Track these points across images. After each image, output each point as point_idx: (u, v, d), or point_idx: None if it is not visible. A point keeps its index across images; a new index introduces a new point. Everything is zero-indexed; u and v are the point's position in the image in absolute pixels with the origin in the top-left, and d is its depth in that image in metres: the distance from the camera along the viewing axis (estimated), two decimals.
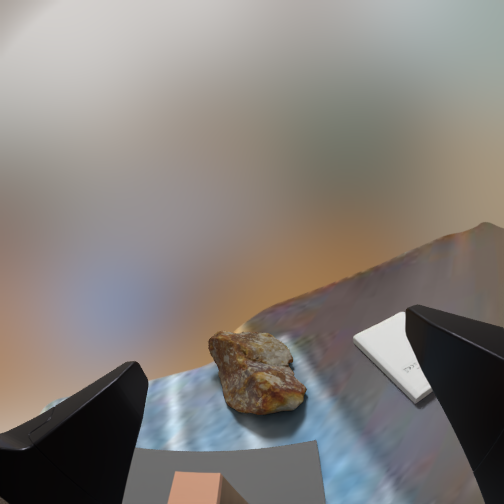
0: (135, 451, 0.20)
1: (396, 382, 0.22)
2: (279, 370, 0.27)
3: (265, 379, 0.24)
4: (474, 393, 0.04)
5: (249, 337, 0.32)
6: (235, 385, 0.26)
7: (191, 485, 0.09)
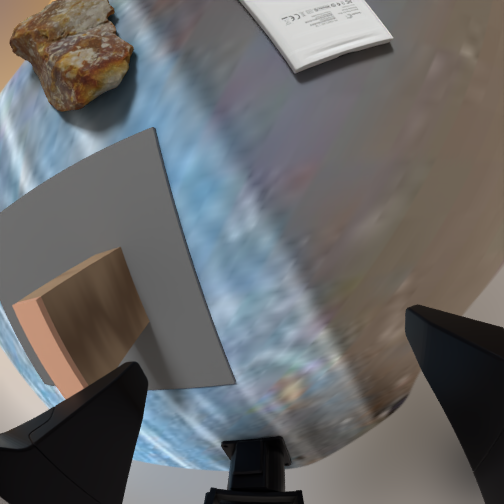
0: (5, 215, 0.18)
1: (269, 34, 0.13)
2: (93, 35, 0.12)
3: (70, 65, 0.11)
4: (474, 393, 0.04)
5: (52, 10, 0.10)
6: (46, 81, 0.13)
7: (28, 319, 0.10)
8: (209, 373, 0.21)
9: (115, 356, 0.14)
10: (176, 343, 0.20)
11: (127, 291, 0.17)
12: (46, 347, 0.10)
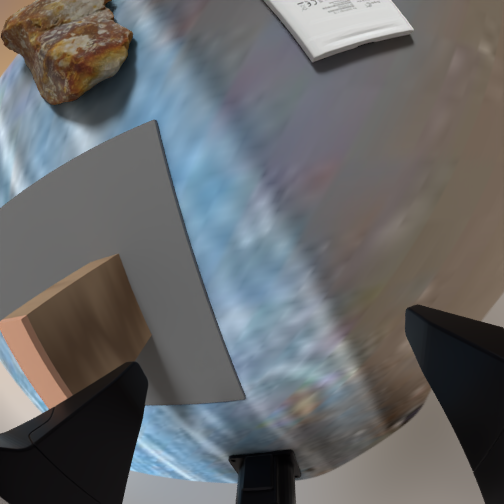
0: None
1: (283, 20, 0.12)
2: (89, 22, 0.10)
3: (63, 52, 0.10)
4: (474, 393, 0.04)
5: (45, 0, 0.08)
6: (38, 73, 0.11)
7: (15, 340, 0.08)
8: (217, 389, 0.19)
9: None
10: (182, 358, 0.18)
11: (126, 303, 0.16)
12: (36, 371, 0.08)
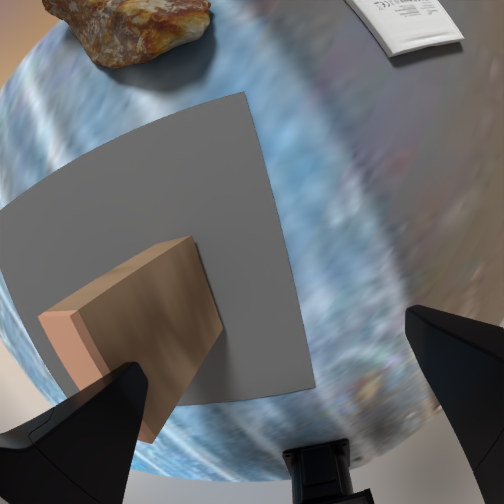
0: (25, 198, 0.15)
1: (362, 16, 0.11)
2: None
3: (140, 8, 0.09)
4: (474, 393, 0.04)
5: None
6: (95, 34, 0.11)
7: (60, 338, 0.07)
8: (289, 378, 0.18)
9: (181, 379, 0.11)
10: (256, 347, 0.17)
11: (199, 292, 0.15)
12: (87, 377, 0.08)
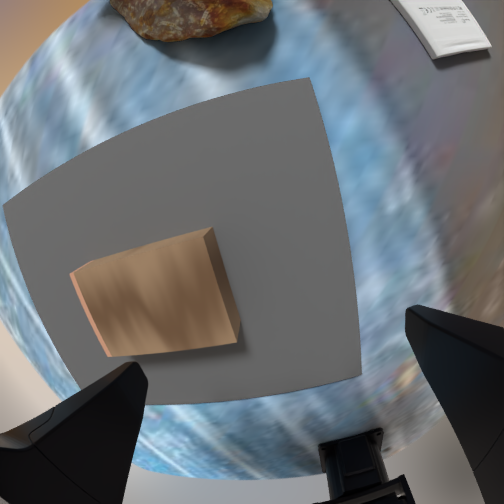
0: (52, 178, 0.15)
1: (409, 19, 0.11)
2: None
3: None
4: (474, 393, 0.04)
5: None
6: (148, 6, 0.10)
7: None
8: (338, 367, 0.18)
9: (147, 345, 0.15)
10: (310, 335, 0.17)
11: (198, 297, 0.14)
12: None
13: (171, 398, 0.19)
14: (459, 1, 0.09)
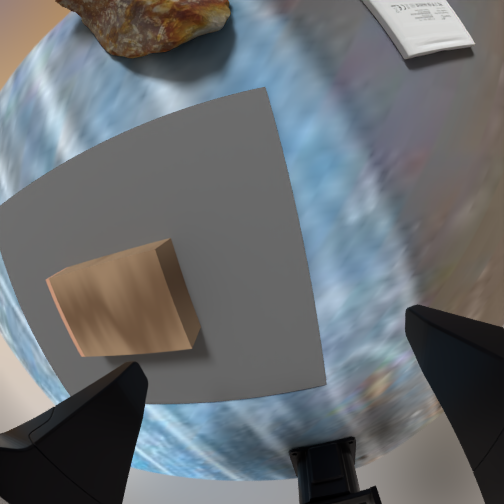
0: (32, 189, 0.15)
1: (380, 18, 0.11)
2: None
3: None
4: (474, 393, 0.04)
5: None
6: (112, 24, 0.10)
7: None
8: (301, 376, 0.18)
9: (113, 348, 0.15)
10: (270, 344, 0.17)
11: (154, 305, 0.14)
12: None
13: None
14: None
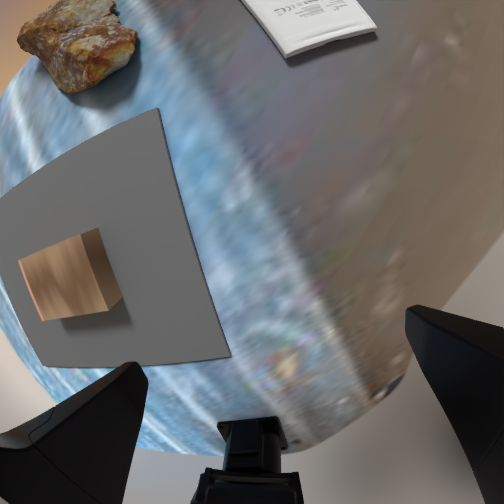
0: (12, 194, 0.19)
1: (262, 24, 0.15)
2: (99, 25, 0.13)
3: (81, 48, 0.12)
4: (474, 393, 0.04)
5: (57, 8, 0.11)
6: (56, 68, 0.14)
7: None
8: (205, 345, 0.22)
9: (61, 311, 0.19)
10: (174, 314, 0.21)
11: (82, 275, 0.18)
12: None
13: (92, 361, 0.23)
14: None
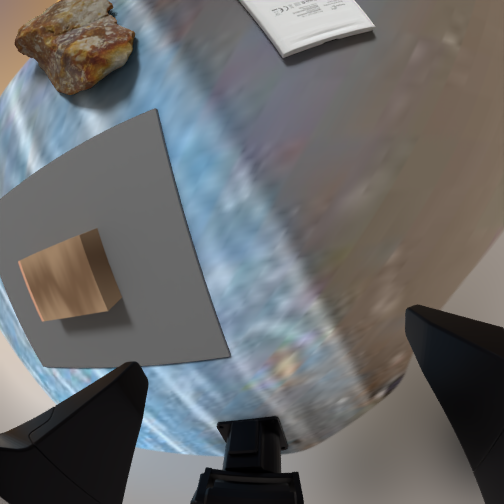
0: (11, 195, 0.19)
1: (260, 24, 0.15)
2: (96, 26, 0.13)
3: (79, 49, 0.12)
4: (474, 393, 0.04)
5: (54, 10, 0.11)
6: (55, 70, 0.14)
7: None
8: (204, 345, 0.22)
9: (60, 312, 0.19)
10: (173, 314, 0.21)
11: (81, 276, 0.18)
12: None
13: (92, 362, 0.23)
14: None
